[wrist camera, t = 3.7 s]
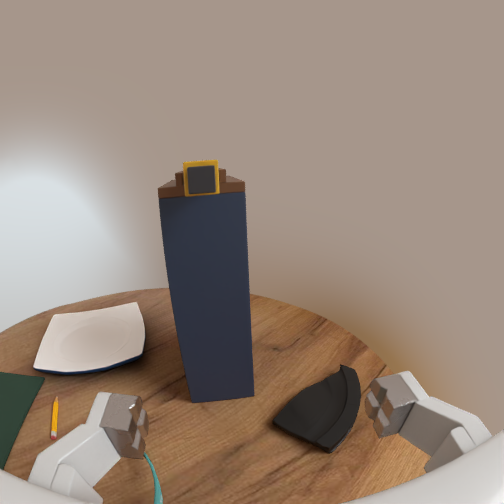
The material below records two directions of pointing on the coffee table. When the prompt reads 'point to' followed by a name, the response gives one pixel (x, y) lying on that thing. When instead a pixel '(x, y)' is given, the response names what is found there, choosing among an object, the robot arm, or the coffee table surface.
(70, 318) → the plate
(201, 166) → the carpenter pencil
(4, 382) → the rubber mat
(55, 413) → the pencil
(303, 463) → the coffee table surface
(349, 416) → the curved wedge
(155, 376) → the coffee table surface
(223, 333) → the blue tall block
